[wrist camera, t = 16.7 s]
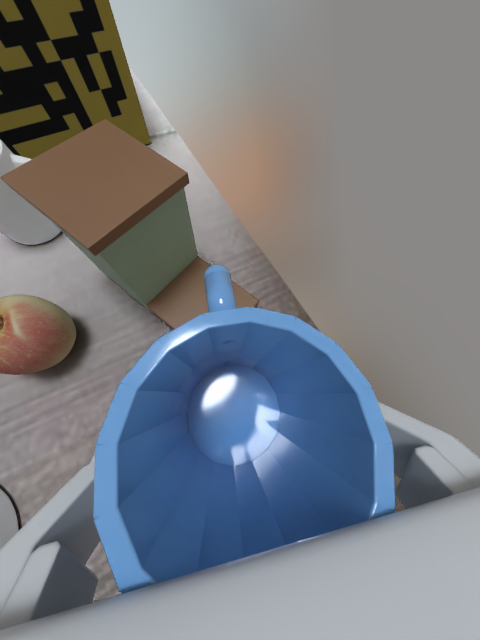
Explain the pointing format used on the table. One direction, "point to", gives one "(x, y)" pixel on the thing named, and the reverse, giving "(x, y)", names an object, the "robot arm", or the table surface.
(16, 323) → the apple
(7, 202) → the mug
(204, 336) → the cup
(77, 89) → the decorative box
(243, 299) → the green brown stepped block
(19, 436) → the table surface
